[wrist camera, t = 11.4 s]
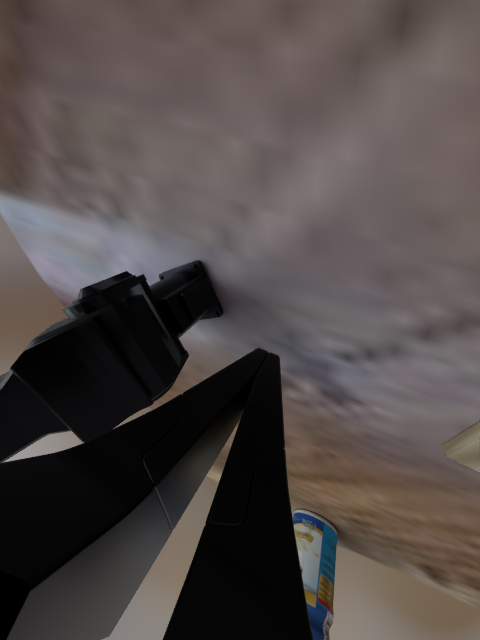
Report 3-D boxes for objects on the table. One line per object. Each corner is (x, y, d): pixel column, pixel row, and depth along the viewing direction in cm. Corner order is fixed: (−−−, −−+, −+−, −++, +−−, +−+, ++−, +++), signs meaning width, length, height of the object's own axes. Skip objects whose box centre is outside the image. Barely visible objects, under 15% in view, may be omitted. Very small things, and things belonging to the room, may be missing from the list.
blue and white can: (325, 536, 44) (308, 722, 29) (288, 511, 46) (253, 674, 31) (347, 531, 39) (339, 755, 24) (303, 503, 40) (270, 695, 26)
